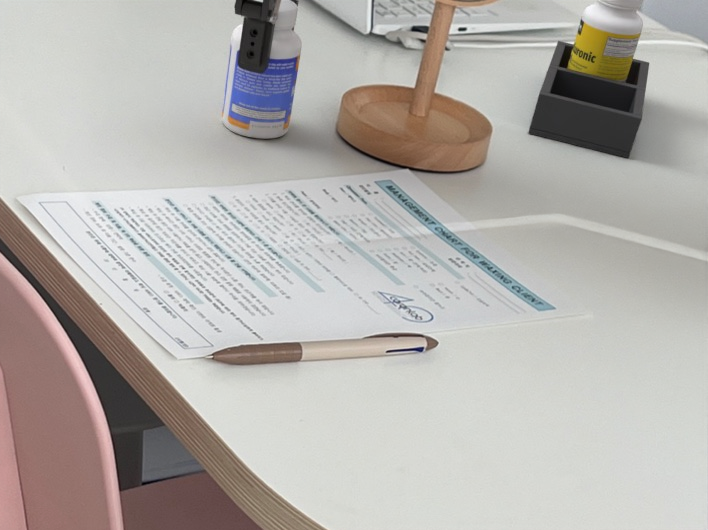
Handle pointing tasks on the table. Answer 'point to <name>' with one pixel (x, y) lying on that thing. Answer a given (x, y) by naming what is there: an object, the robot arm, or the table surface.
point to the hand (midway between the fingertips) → (264, 56)
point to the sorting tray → (590, 106)
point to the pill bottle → (264, 82)
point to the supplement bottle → (607, 39)
